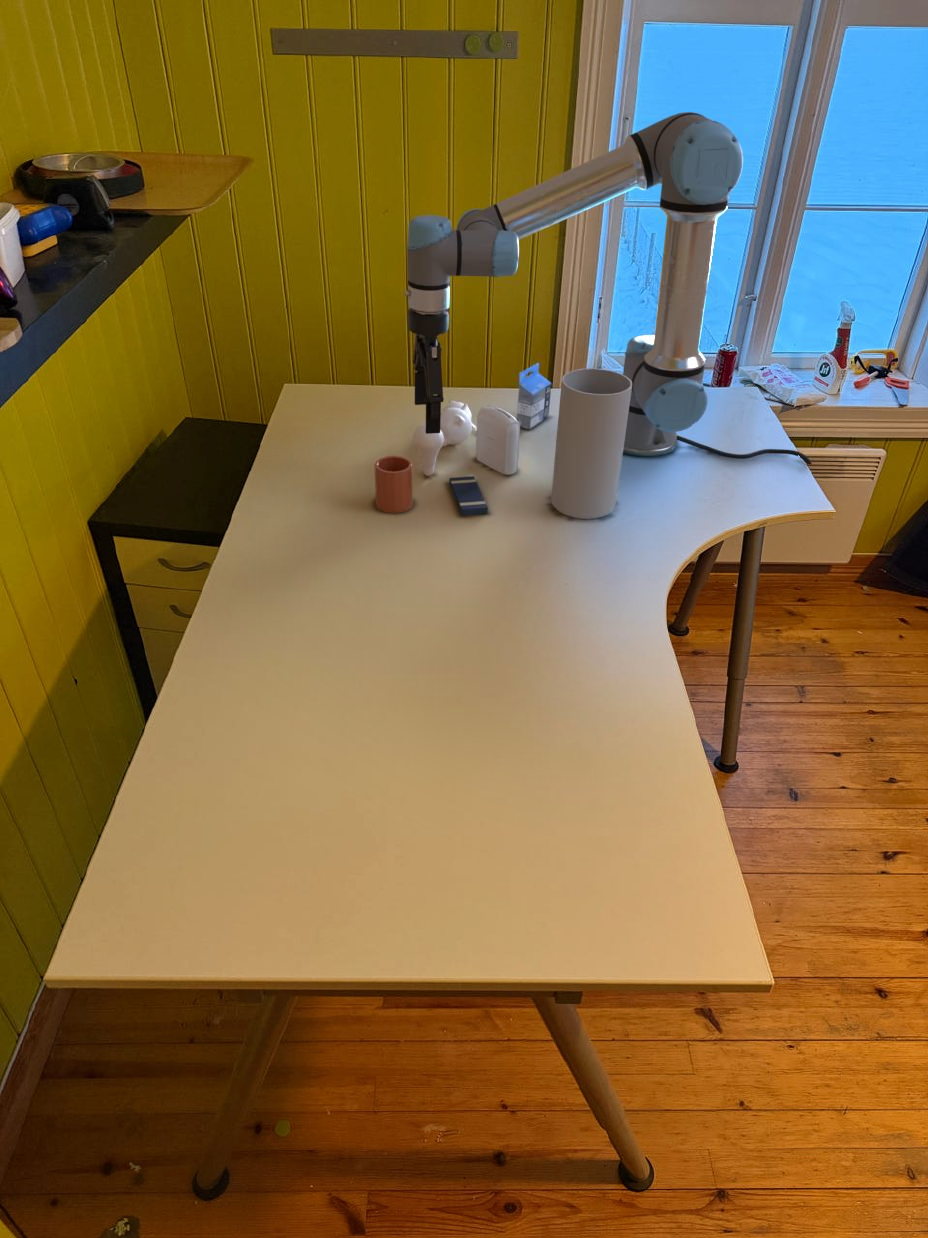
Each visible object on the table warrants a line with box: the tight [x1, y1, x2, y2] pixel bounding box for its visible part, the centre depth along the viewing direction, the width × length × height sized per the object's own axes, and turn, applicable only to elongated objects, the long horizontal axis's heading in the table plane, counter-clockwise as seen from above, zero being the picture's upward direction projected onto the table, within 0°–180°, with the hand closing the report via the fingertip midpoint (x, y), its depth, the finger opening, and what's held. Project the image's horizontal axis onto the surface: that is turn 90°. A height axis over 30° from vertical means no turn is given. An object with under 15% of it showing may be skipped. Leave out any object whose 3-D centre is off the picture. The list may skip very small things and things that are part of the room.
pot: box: [373, 455, 414, 514], centre depth 173 cm, size 7×7×8 cm
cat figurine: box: [440, 399, 477, 447], centre depth 198 cm, size 9×11×12 cm
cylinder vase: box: [550, 367, 632, 520], centre depth 170 cm, size 12×12×25 cm
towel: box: [448, 475, 489, 517], centre depth 178 cm, size 5×13×1 cm, turn 11°
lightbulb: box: [412, 423, 444, 477], centre depth 183 cm, size 6×6×11 cm
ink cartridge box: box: [516, 362, 552, 430], centre depth 205 cm, size 9×4×12 cm, turn 147°
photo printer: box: [475, 405, 521, 476], centre depth 186 cm, size 10×4×12 cm, turn 39°
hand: (427, 418), depth 178 cm, fingers open, 13 cm apart
